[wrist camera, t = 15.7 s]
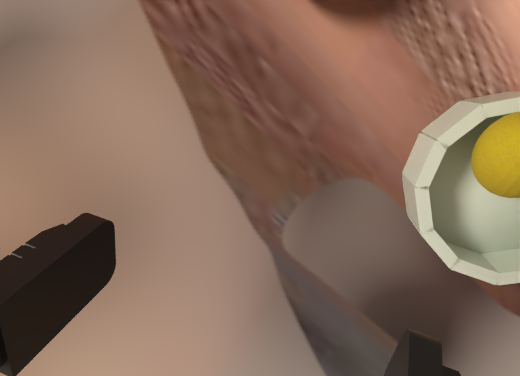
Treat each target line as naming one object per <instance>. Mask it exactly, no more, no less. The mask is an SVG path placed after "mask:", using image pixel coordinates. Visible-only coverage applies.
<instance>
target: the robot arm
mask: <svg viewBox="0 0 520 376" xmlns="http://www.w3.org/2000/svg"><path fill="white" fill-rule="evenodd" d="M115 266H116V255H115V230H114V224H113V222H111V221H109V220H106V219H104V218H100V217H98V216H95V215H92V214H90V213H83V214H81V215H80V216H78V217H77V218H76V219H74V220H73V221H72V222H70V223H69V224H67V225H64V224H61V225H58V226H55V227H53V228H50V229H48V230H45V231H42V232H41V233H39V234H38V235H36V236H35V237H34V238H32V239H30V240H29V241H28V242H26V243H25V245H24V246H23V245H22V246H20V247H19V248H18V249H16V250H15V251H13V252H12V254H11V255H8V256H6V257H5V258H3V259H2V260H0V372H1V373H3V374H5V375H7V376H16V375H17V374H18V373H19V372H20V371H21V370H22V369H23V368H24V367H25V366H26V365H27V364H28V363H29V362H30V361H31V360H32V359H33V358H34V357H35V356H36V355H37V354H38V353H39V352H40V351H41V350H42V349H43V348H44V347H45V346H46V345H47V344H48V343H49V342H50V341H51V340H52V339H53V338H54V337H55V336H56V335H57V334H58V333H59V332H60V331H61V330H62V329H63V328H64V327H65V326H66V325H67V324H68V323H69V322H70V321H71V320H72V319H73V318H74V317H75V315H77V314H78V313H79V312H80V311H81V310H82V309H83V308H84V307H85V306H86V305H87V304H88V303H89V302H90V301H91V300H92V299H93V298H94V297H95V296H96V295H97V294H98V293H99V291H101V290H102V289H103V288H104V287H105V286H106V285H107V283H108V282H109V281H110V279H111V277H112V275H113V273H114V270H115ZM384 376H461V375H460V373H459V372H458V371H456V370H453V369H450V368H448V367H445V366H442V347H441V342H440V340H439V339H436V338H433V337H430V336H428V335H425V334H422V333H419V332H416V331H414V330H411V329H406V330H405V331H404V333H403V335H402V337H401V339H400V341H399V343H398V346H397V348H396V350H395V352H394V354H393V356H392V358H391V360H390V362H389V364H388V366H387V369H386V371H385V374H384Z"/></svg>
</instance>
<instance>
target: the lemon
mask: <svg viewBox="0 0 520 376" xmlns="http://www.w3.org/2000/svg"><path fill="white" fill-rule="evenodd" d="M471 165H472V170H473V174H474V176H475V178H476V179H477V181H478V182H479V183H480V184H481V185H482V187H484V188H485V189H486V190H488V191H489V192H491V193H493V194H495V195H498V196H501V197H506V198H520V112H515V113H512V114H509V115H506V116H504V117H502V118H500V119H499V120H497V121H496V122H494V123H493V124H491V125H490V126H489V127H487V129H486V130H485V131H484V132H483V133H482V134H481V135H480V137H479V138H478V140H477V141H476V144H475V146H474V149H473V151H472V159H471Z"/></svg>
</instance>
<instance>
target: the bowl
mask: <svg viewBox="0 0 520 376" xmlns="http://www.w3.org/2000/svg"><path fill="white" fill-rule="evenodd" d="M515 112H520V92H514V91H507V92H502V93H497V94H492V95H487V96H482V97H476V98H471V99H466V100H461V101H460V102H457V103H456V104H455V105H453V106H452V107H451V108H450V109H448V110H447V111H446V112H445V113H443V114H442V115H441V116H439V117H438V118H437V119H436V120H434V121H433V122H432V123H431V124H429V125H428V126H427V127H425V128H424V129H423V130H422V131H421V132H422V133H419V135H418V138H417V140H416V142H415V144H414V147H413V149H412V151H411V154H410V156H409V158H408V161H407V163H406V165H405V167H404V170H403V172H402V173H403V175H402V180H403V187H404V194H405V202H406V209H407V215H408V217H409V218H410V220H411V221H412V223H413V224H414V226H415V227H416V228H417V230H418V231H419V233H420V234H421V235H422V237H423V238H424V239H425V240H426V241H427V242H428V244H429V245H430V246H431V247H432V248H433V250H434V251H435V252H436V253H437V254H438V255H439V256H440V258H441V259H442V260H443V261H444V262H445V264H446V265H447V266H448V267H449V268H450V269H451V270H454V271H457V272H460V273H463V274H465V275H468V276H471V277H474V278H477V279H480V280H483V281H485V282H488V283H491V284H494V285H496V284H497V285H505V284H513V283H520V198H506V197H501V196H498V195H495V194H493V193H491V192H489V191H488V190H486V189H485V188H484V187H482V185H481V184H480V183H479V182H478V181H477V179H476V178H475V176H474V174H473V170H472V165H471V159H472V151H473V149H474V146H475V144H476V141H477V140H478V138H479V137H480V135H481V134H482V133H483V132H484V131H485V130H486V129H487V127H489V126H490V125H491V124H493V123H494V122H496V121H497V120H499V119H500V118H502V117H504V116H506V115H509V114H512V113H515Z"/></svg>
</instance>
